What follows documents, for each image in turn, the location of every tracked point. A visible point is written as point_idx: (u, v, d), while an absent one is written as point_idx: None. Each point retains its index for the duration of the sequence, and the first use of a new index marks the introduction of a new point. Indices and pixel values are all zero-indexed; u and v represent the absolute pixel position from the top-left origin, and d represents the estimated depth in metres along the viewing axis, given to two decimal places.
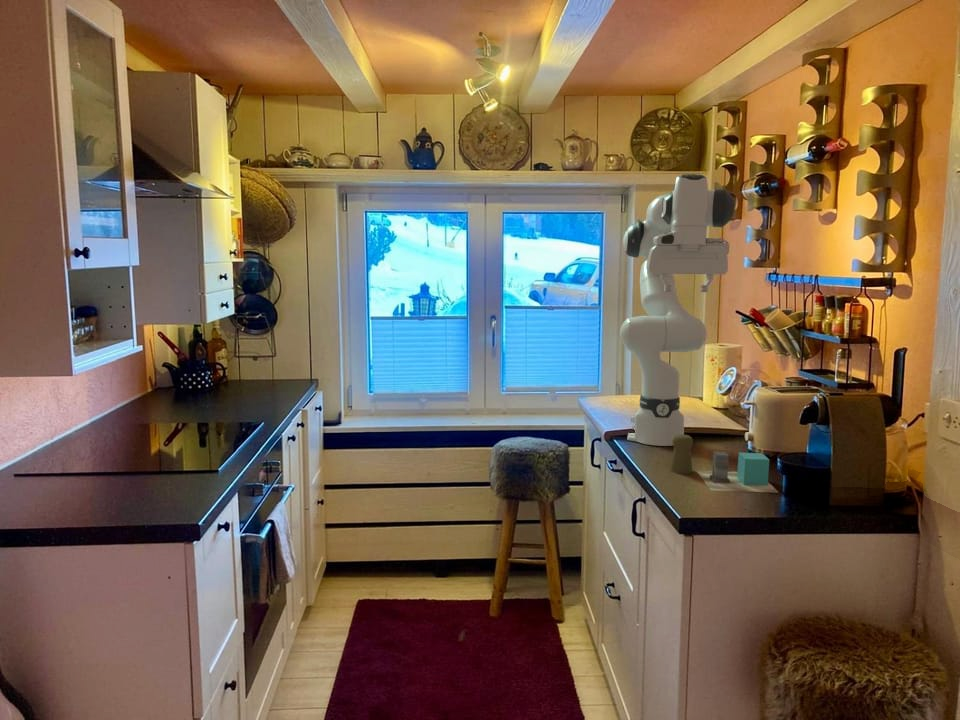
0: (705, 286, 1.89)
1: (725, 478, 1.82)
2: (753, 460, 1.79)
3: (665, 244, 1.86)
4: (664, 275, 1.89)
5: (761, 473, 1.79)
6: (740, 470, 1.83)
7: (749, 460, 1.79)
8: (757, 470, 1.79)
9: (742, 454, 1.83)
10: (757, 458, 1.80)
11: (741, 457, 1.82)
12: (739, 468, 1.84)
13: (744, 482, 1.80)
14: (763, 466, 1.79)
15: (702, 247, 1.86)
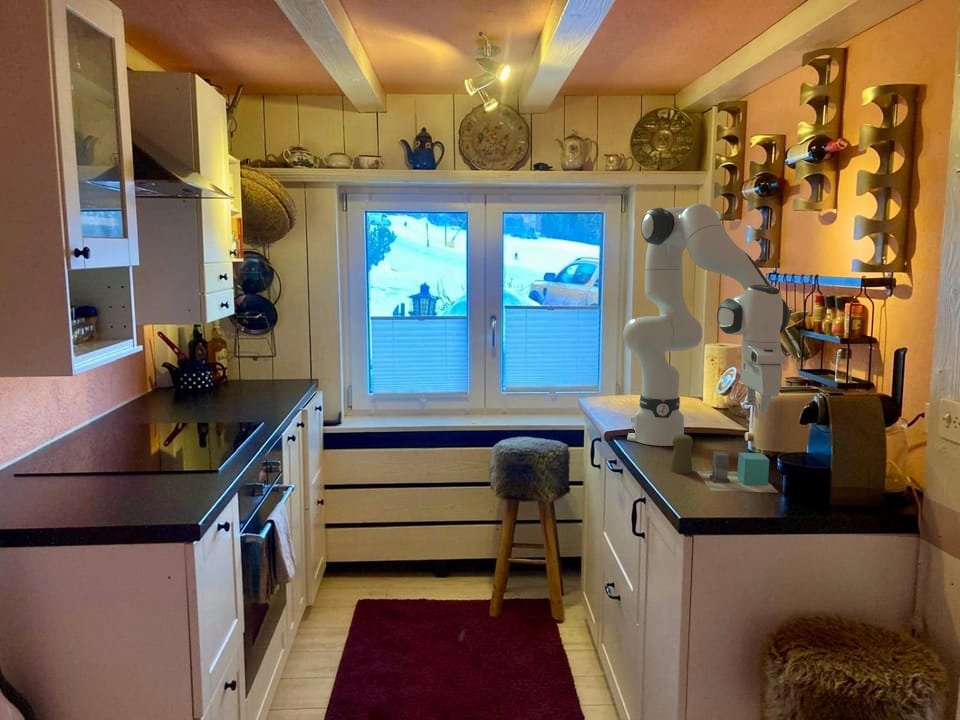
0: None
1: (725, 478, 1.82)
2: (753, 460, 1.79)
3: None
4: None
5: (761, 473, 1.79)
6: (740, 470, 1.83)
7: (749, 460, 1.79)
8: (757, 470, 1.79)
9: (742, 454, 1.83)
10: (757, 458, 1.80)
11: (741, 457, 1.82)
12: (739, 468, 1.84)
13: (744, 482, 1.80)
14: (763, 466, 1.79)
15: None
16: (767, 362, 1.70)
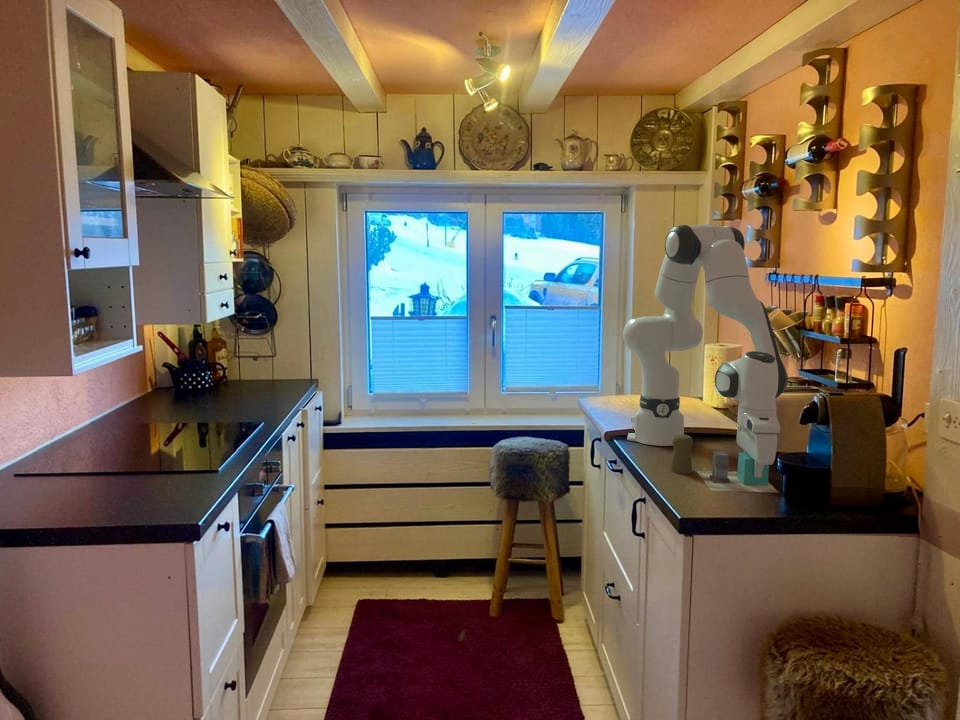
0: None
1: (725, 478, 1.82)
2: (753, 460, 1.79)
3: None
4: None
5: None
6: (740, 470, 1.83)
7: (749, 460, 1.79)
8: None
9: (742, 454, 1.83)
10: None
11: (741, 457, 1.82)
12: (739, 468, 1.84)
13: (744, 482, 1.80)
14: None
15: None
16: (762, 431, 1.72)
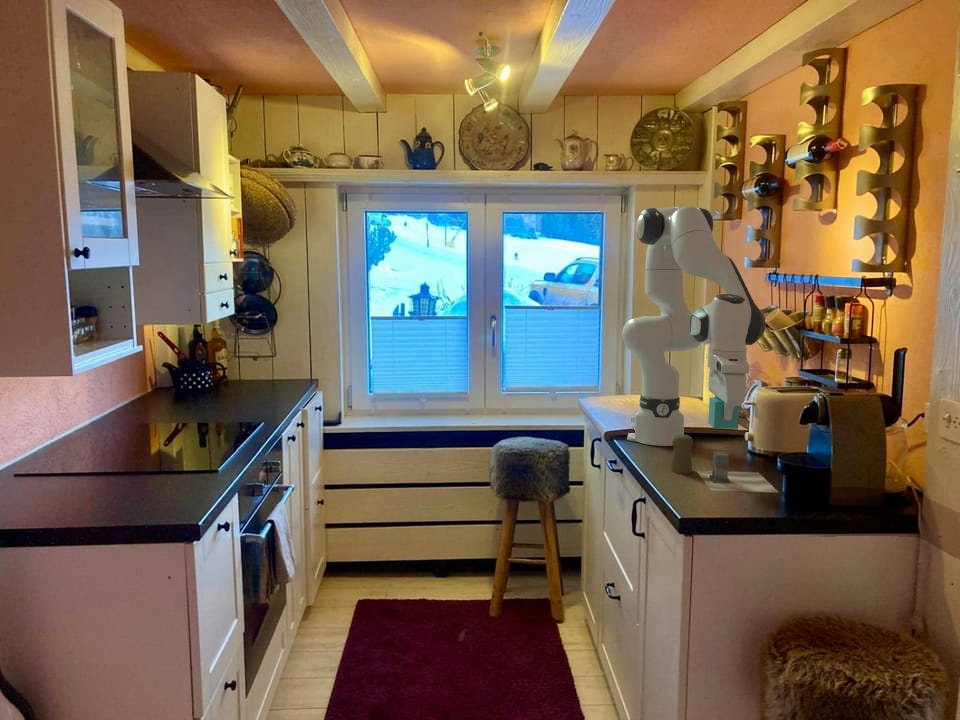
0: None
1: (725, 478, 1.82)
2: (723, 403, 1.77)
3: None
4: None
5: None
6: (711, 414, 1.81)
7: (719, 403, 1.78)
8: None
9: (713, 398, 1.82)
10: None
11: (712, 401, 1.81)
12: (710, 413, 1.82)
13: (714, 425, 1.78)
14: None
15: None
16: (731, 371, 1.71)
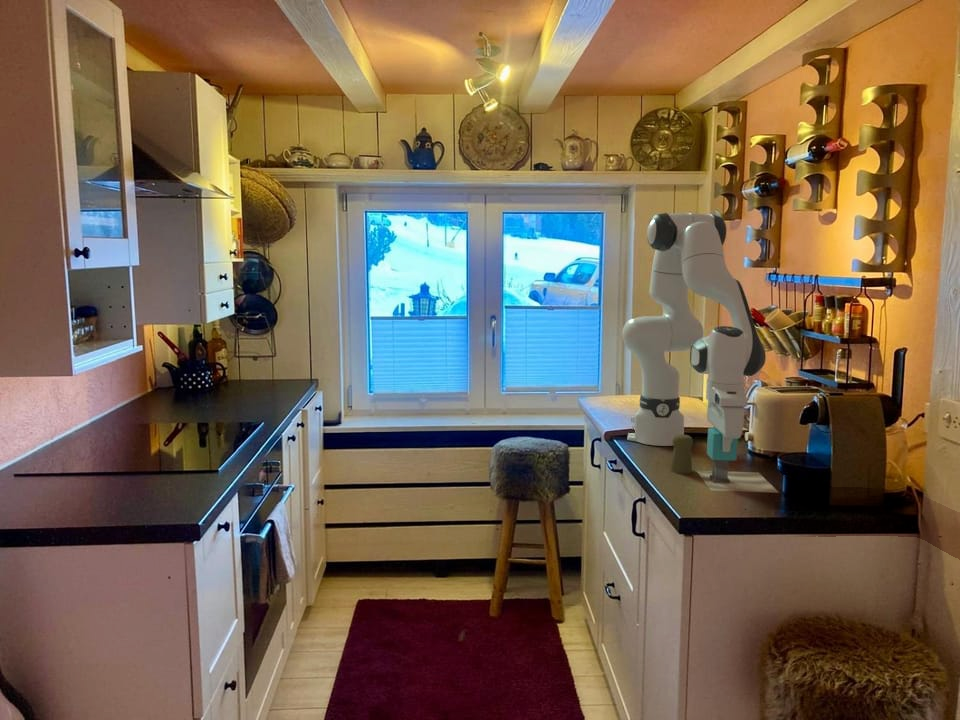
0: None
1: (725, 478, 1.82)
2: (722, 435, 1.79)
3: None
4: None
5: None
6: (709, 445, 1.82)
7: (718, 435, 1.79)
8: None
9: (711, 429, 1.83)
10: None
11: (710, 432, 1.82)
12: (708, 444, 1.83)
13: (713, 457, 1.80)
14: (732, 441, 1.79)
15: None
16: (729, 405, 1.72)
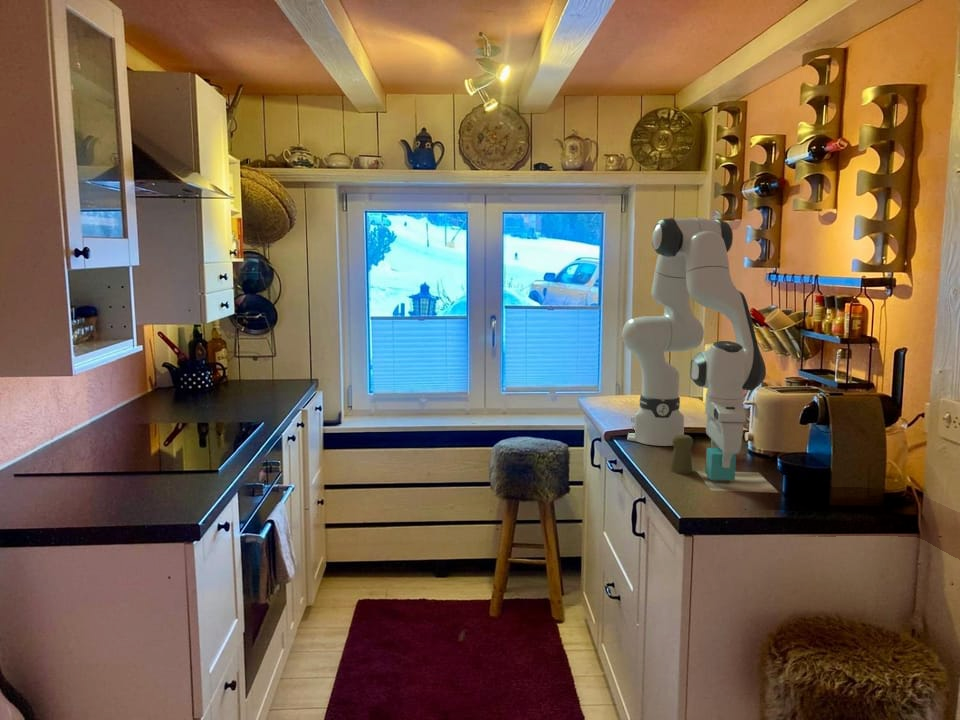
0: None
1: None
2: (720, 455, 1.79)
3: None
4: None
5: (728, 468, 1.80)
6: (708, 465, 1.83)
7: (716, 455, 1.80)
8: None
9: (710, 449, 1.84)
10: None
11: (709, 452, 1.83)
12: (707, 463, 1.84)
13: (711, 477, 1.80)
14: (730, 461, 1.80)
15: None
16: (728, 420, 1.72)
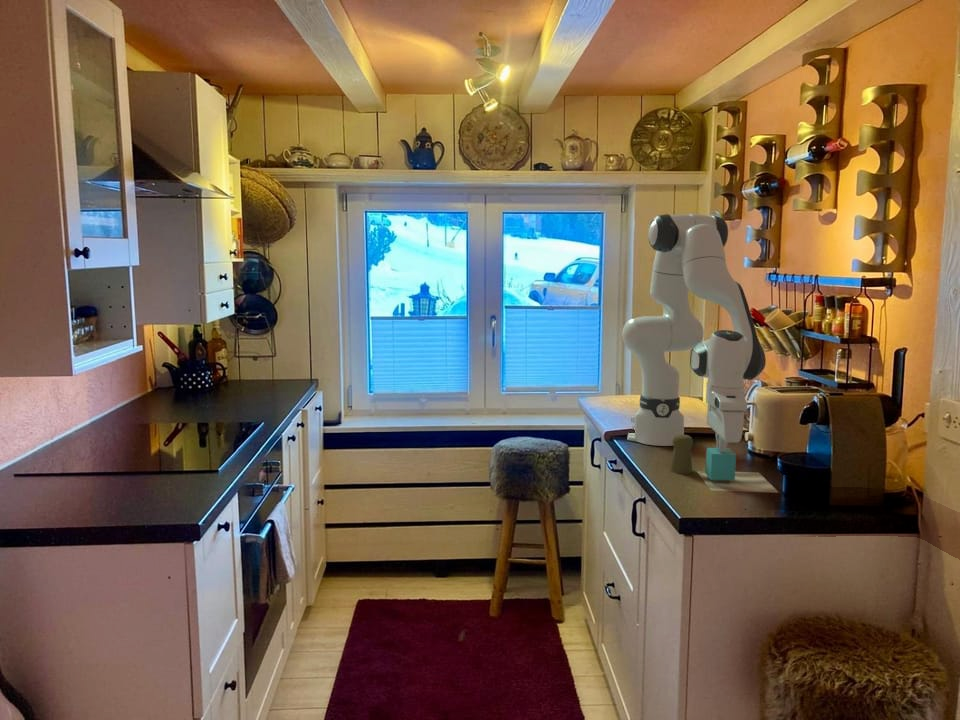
0: None
1: None
2: (720, 455, 1.79)
3: None
4: None
5: (728, 468, 1.80)
6: (708, 465, 1.83)
7: (716, 455, 1.80)
8: (724, 465, 1.80)
9: (710, 449, 1.84)
10: (724, 453, 1.80)
11: (709, 452, 1.83)
12: (707, 463, 1.84)
13: (711, 477, 1.80)
14: (730, 461, 1.80)
15: None
16: (729, 409, 1.72)
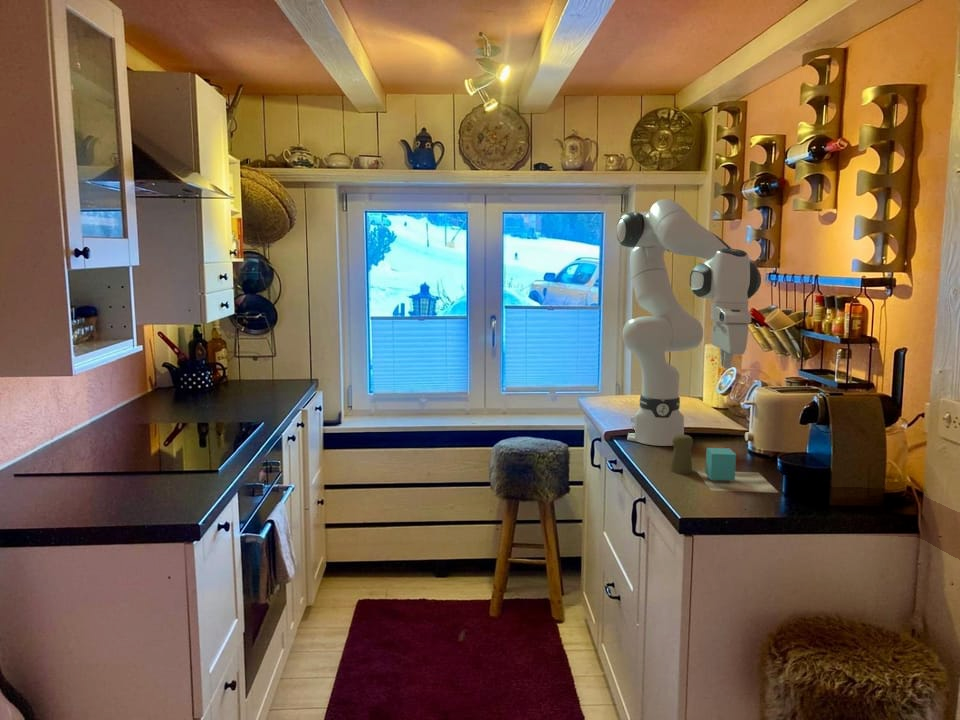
0: None
1: None
2: (720, 455, 1.79)
3: None
4: None
5: (728, 468, 1.80)
6: (708, 465, 1.83)
7: (716, 455, 1.80)
8: (724, 465, 1.80)
9: (710, 449, 1.84)
10: (724, 453, 1.80)
11: (709, 452, 1.83)
12: (707, 463, 1.84)
13: (711, 477, 1.80)
14: (730, 461, 1.80)
15: None
16: (734, 321, 1.77)
